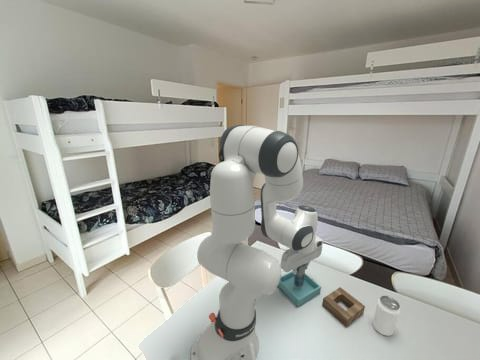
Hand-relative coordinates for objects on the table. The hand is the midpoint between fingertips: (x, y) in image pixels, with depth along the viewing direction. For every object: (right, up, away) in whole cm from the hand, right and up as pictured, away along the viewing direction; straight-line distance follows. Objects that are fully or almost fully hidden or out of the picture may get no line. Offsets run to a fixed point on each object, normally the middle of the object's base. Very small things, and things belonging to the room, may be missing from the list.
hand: (300, 271), depth 90 cm
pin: (0, -6, +2) cm, 7 cm away
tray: (0, -10, +3) cm, 10 cm away
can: (+26, -15, -13) cm, 33 cm away
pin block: (+15, -13, -6) cm, 20 cm away
